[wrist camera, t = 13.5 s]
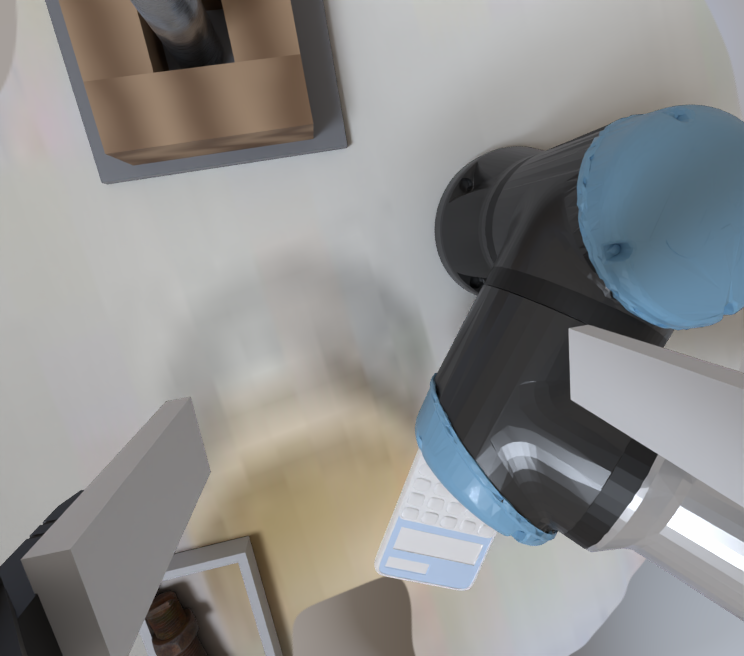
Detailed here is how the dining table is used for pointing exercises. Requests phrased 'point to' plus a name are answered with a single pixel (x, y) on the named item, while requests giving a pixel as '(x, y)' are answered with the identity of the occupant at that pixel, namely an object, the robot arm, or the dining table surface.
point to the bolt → (173, 627)
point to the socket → (200, 87)
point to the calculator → (432, 535)
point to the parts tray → (245, 557)
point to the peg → (183, 30)
